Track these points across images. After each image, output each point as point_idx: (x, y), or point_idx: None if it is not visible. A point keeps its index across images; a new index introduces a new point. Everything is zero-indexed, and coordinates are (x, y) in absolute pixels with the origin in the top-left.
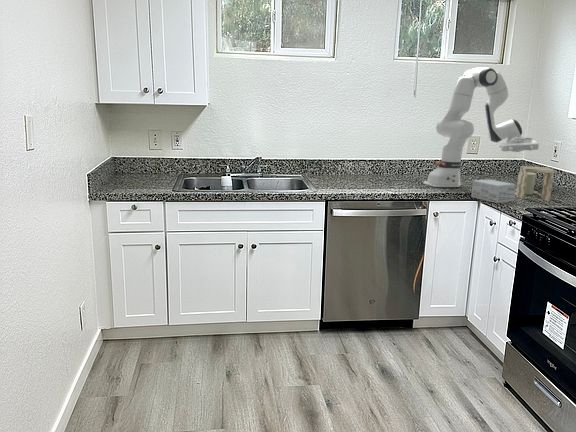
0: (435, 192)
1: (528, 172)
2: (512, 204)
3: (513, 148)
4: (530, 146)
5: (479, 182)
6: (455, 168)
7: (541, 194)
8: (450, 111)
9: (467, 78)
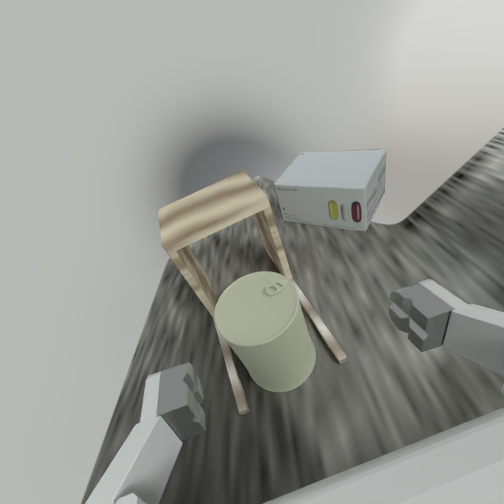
0: (494, 164)
1: (251, 338)
2: None
3: (413, 291)
4: (138, 499)
5: (361, 150)
6: None
7: (217, 333)
8: None
9: None
